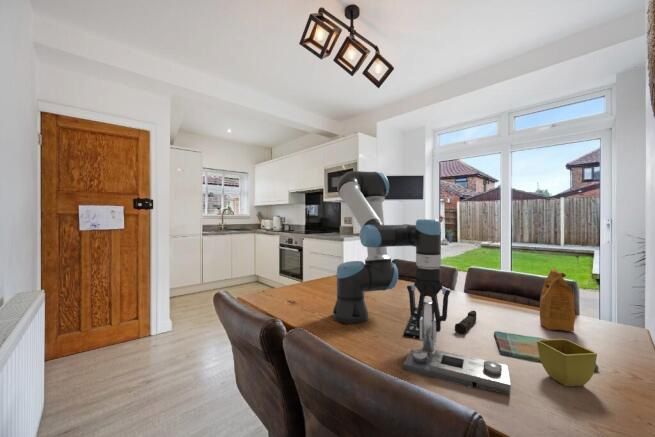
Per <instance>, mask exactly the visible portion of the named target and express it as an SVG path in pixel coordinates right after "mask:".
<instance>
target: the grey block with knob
mask: <svg viewBox="0 0 655 437" xmlns="http://www.w3.org/2000/svg"><path fill="white" fill-rule="evenodd" d="M433 354H434V355H433V358H432V361H431V364H430V371H433V372H437V373H441V374H444V375H448V376H452V377H456V378H460V379H464V380H468V381H472V383H476V387H477V388H480V389H485V390H488V391H492V390H493V392H496V391H497V392H496V393H500V392H501V393H500V394H504V395H507V394H508V396H510V395H511V380H510V373H509V367H508V365H507V364H504V363H499V362H496V361H492V360H484V359H481V358H475V357H472V356H471V357H470V356H466V355H463V354H457V353H453V352H447V351H444V350H439V349H434V353H433ZM443 360H445V361H449V362H454V363H458V364H462V365H463V369H462V368H457V367H453V366H449V365H445V364H442V361H443Z"/></svg>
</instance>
